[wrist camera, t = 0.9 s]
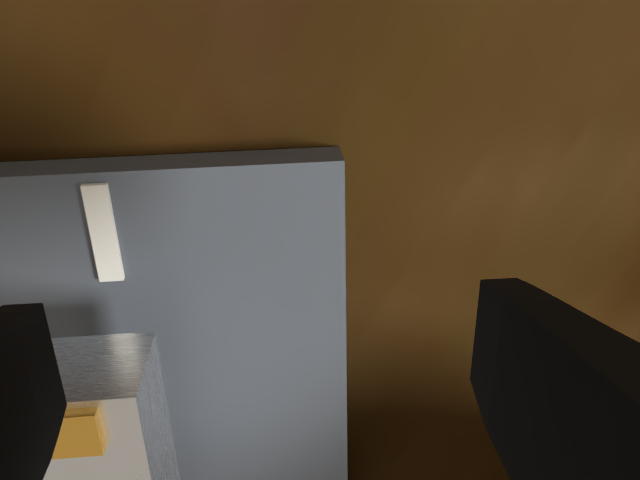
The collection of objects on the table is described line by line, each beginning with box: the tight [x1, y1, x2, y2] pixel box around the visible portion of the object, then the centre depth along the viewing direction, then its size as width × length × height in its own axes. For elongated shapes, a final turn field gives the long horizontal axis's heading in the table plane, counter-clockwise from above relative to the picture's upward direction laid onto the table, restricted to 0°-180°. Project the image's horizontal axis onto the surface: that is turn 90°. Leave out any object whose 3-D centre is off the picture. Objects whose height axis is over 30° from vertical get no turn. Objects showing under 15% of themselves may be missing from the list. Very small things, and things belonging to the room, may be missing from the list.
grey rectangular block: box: [43, 332, 180, 480], centre depth 18 cm, size 8×3×5 cm, turn 1°
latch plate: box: [0, 146, 348, 480], centre depth 21 cm, size 16×14×2 cm
